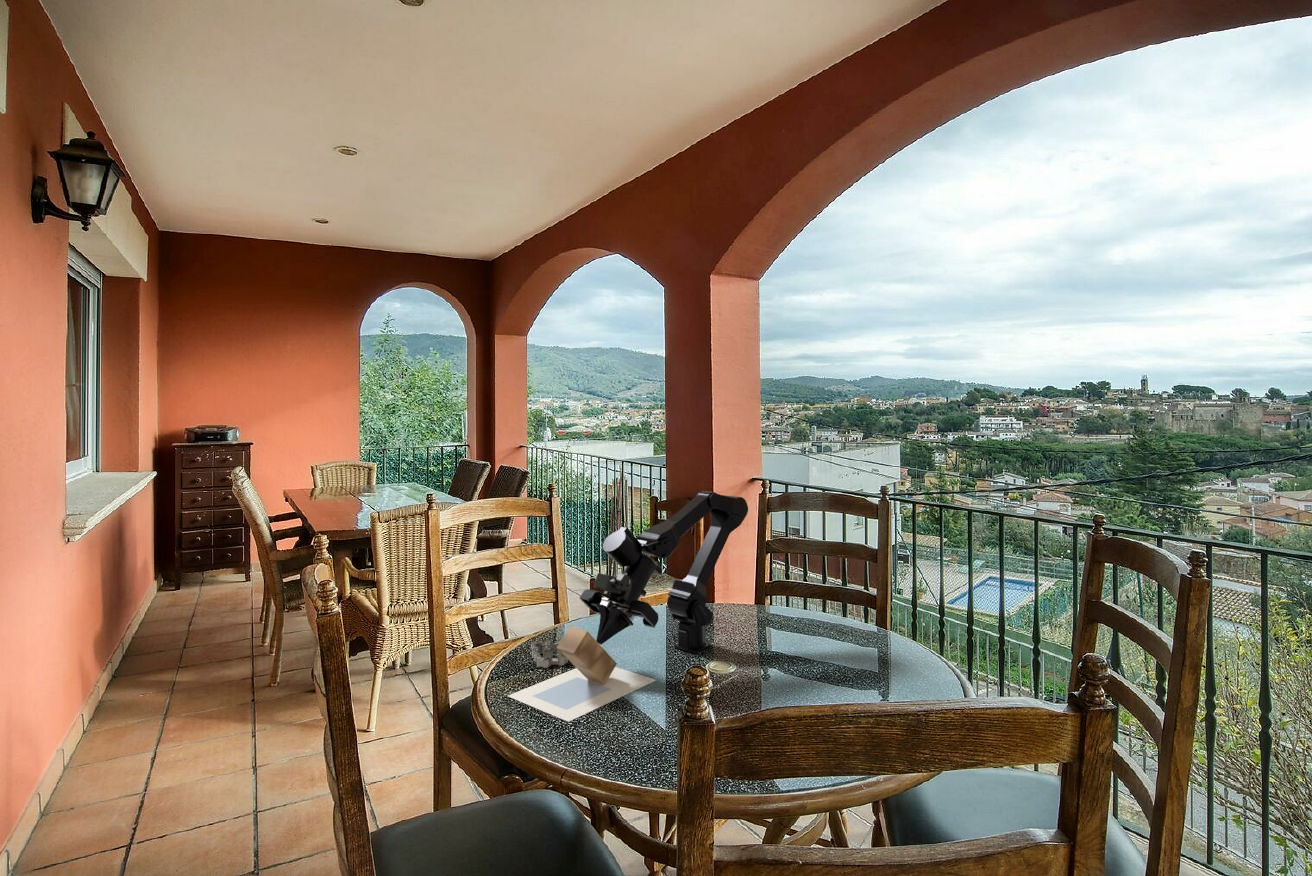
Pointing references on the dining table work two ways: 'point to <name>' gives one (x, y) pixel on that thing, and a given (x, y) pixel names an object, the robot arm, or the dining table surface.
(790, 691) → the dining table surface
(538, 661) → the egg carton
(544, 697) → the mat
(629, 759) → the dining table surface
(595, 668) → the oak block
